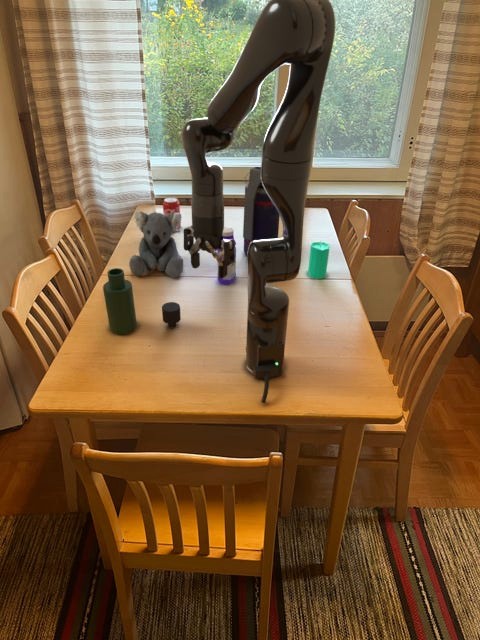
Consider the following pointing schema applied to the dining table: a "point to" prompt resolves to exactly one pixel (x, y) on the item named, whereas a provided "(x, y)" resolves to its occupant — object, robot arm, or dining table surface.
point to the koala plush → (157, 245)
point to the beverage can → (171, 207)
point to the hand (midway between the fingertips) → (209, 272)
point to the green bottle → (119, 303)
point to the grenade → (258, 211)
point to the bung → (171, 314)
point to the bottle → (232, 267)
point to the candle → (318, 260)
